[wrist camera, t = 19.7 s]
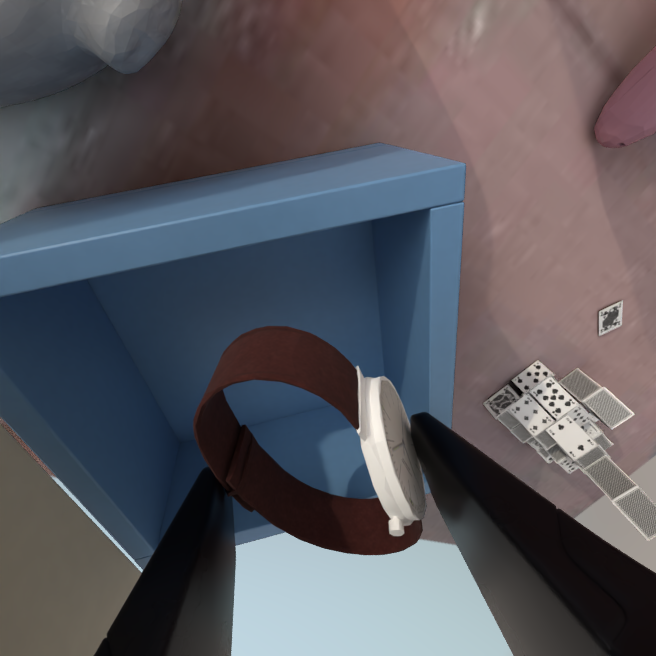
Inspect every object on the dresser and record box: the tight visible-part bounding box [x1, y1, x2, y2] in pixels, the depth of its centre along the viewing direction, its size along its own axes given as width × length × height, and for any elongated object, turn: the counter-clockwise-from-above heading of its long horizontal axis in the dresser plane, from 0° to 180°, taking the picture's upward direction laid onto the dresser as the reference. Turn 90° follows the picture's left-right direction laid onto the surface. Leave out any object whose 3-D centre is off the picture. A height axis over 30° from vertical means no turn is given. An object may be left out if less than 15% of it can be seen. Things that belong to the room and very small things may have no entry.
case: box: [0, 143, 466, 570], centre depth 12 cm, size 12×12×6 cm
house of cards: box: [483, 300, 656, 541], centre depth 18 cm, size 9×9×8 cm
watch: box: [193, 326, 427, 555], centre depth 8 cm, size 8×5×4 cm, turn 26°
